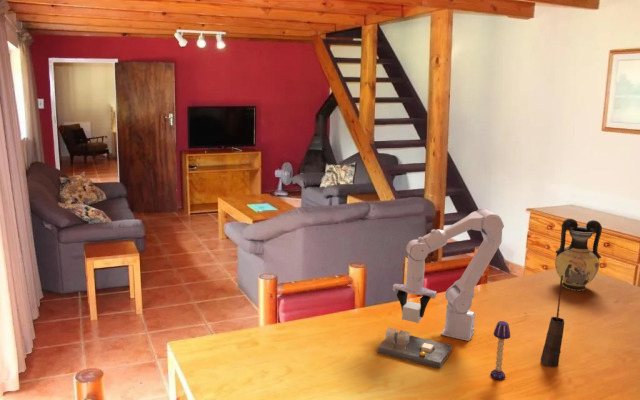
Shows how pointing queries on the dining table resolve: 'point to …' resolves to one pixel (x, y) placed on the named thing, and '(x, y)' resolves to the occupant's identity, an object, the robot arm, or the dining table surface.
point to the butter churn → (553, 338)
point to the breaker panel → (413, 348)
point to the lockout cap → (411, 312)
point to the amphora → (578, 254)
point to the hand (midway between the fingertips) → (412, 314)
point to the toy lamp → (500, 348)
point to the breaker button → (427, 347)
